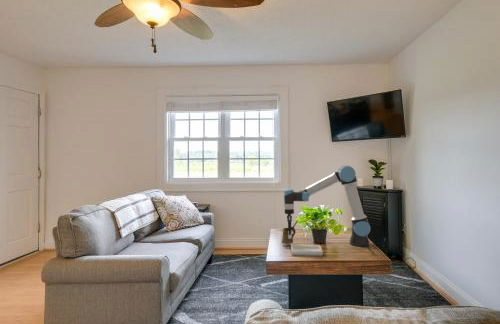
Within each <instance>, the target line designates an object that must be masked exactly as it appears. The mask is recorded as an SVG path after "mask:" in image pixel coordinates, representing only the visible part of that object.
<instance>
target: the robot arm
mask: <svg viewBox="0 0 500 324" xmlns="http://www.w3.org/2000/svg"><path fill="white" fill-rule="evenodd" d="M357 182H358V179H357V176H356V170H355V169H354V168H353V167H352V166H351V165H342V166H340V168H338V169H337V170H335V171H333V173H332V174H330V175H328V176H326V177H324V178H322V179H320V180H318V181H317V182H315V183H313V184H310V185H309V186H306V187H304V188H303V189H300V190H299V191H294V189H290V188H288V189H287V188H286V189H284V191H283V192H284V193H283V198H284V199H283V201H284V204H283V206H284V214H285V215H286V221H287V228H288V239H292V234H293V231H292V229H291V228H292V227H293V226H292V221H293V215H294V214H295V203H294V202H304V203H305V202H309V200H310V197H311V196H313V195H315V194H317V193H318V192H321V191H323V190H325V189H327V188H329V187H331V186H332V185H335V184H337V183H341V185H342V186H343V187H344V190H345V195H346V197H347V202H348V205H349V208H350V212H351V219H350V220H351V235H350V239H349V244H350V245H352V246H354V247H369V246H370V239H369V237H368V235H369V234H370V232H371V225H370V223H369V221H368V220H369V219H368V216H367V215H366V214H364V213H365V212H364V209H363V206H362V202H361V199H360V195H359V191H358V188H357ZM289 228H290V229H289Z"/></svg>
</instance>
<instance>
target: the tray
mask: <svg viewBox="0 0 500 324" xmlns="http://www.w3.org/2000/svg"><path fill="white" fill-rule="evenodd" d="M290 251H291V253H290V254H291V256H305V257H306V256H311V257H313V256H315V257H323V253H324V252H323V249H322V247H321V245H318V244H317V245H316V244H314V245H311V244H290Z"/></svg>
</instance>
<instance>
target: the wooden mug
mask: <svg viewBox="0 0 500 324" xmlns="http://www.w3.org/2000/svg"><path fill="white" fill-rule="evenodd" d="M298 221H299V220H296V221H295V223H294V224H293V226H291V227H292V228H291V229H292V239H288V227H284V228H283V229H282V237H281V238H282V240H281V244H284V245H289V244H290V245H292V244H293V243H294V236H295V235H296V228H295V227H296V225H297V223H298ZM289 229H290V228H289Z"/></svg>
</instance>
